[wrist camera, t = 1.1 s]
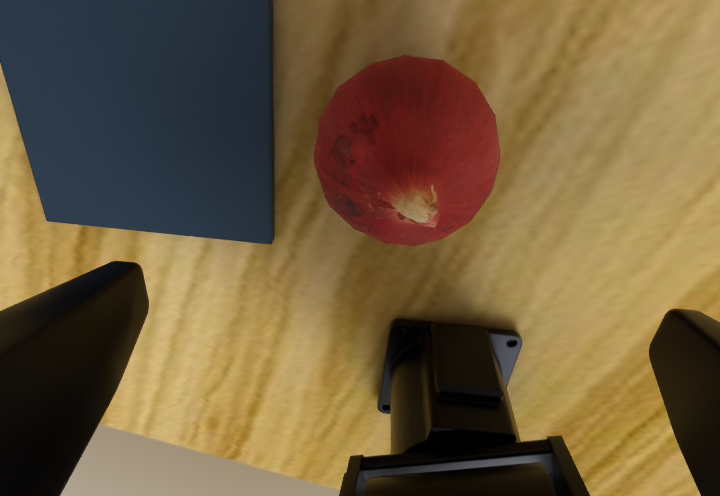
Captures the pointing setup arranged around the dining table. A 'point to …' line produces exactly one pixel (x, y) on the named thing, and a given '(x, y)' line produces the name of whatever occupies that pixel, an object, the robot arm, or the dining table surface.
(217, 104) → the mat
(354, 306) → the dining table surface
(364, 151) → the onion
